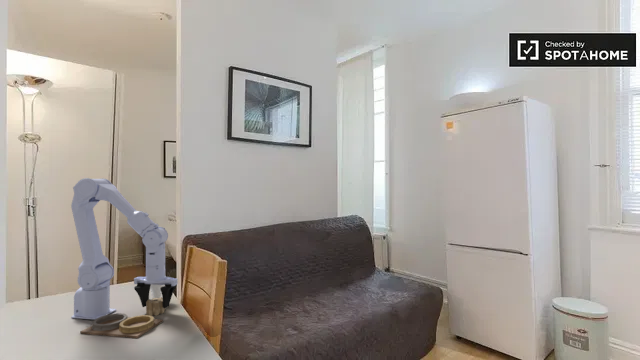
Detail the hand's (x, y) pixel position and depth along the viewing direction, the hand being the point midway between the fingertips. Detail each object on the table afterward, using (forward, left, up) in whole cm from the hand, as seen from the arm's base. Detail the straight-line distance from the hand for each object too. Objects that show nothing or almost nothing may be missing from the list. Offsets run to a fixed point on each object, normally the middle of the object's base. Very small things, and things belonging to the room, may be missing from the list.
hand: (155, 306), depth 107 cm
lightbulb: (-6, +8, -2) cm, 11 cm away
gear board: (-2, -12, -2) cm, 12 cm away
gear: (0, 0, -2) cm, 2 cm away
